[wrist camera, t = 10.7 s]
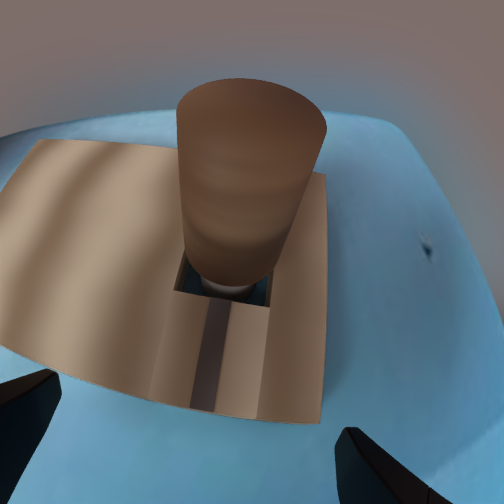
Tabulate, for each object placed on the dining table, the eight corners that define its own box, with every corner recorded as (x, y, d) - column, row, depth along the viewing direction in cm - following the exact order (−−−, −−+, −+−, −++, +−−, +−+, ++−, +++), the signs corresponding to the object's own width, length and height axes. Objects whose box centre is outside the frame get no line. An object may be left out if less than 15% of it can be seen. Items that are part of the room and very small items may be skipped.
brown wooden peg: (281, 292, 18) (355, 134, 8) (217, 333, 16) (233, 182, 7) (236, 237, 19) (264, 70, 10) (174, 271, 18) (152, 98, 8)
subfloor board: (315, 199, 22) (325, 173, 20) (303, 424, 14) (320, 423, 12) (48, 161, 21) (39, 138, 19) (-36, 325, 13) (-58, 310, 11)
